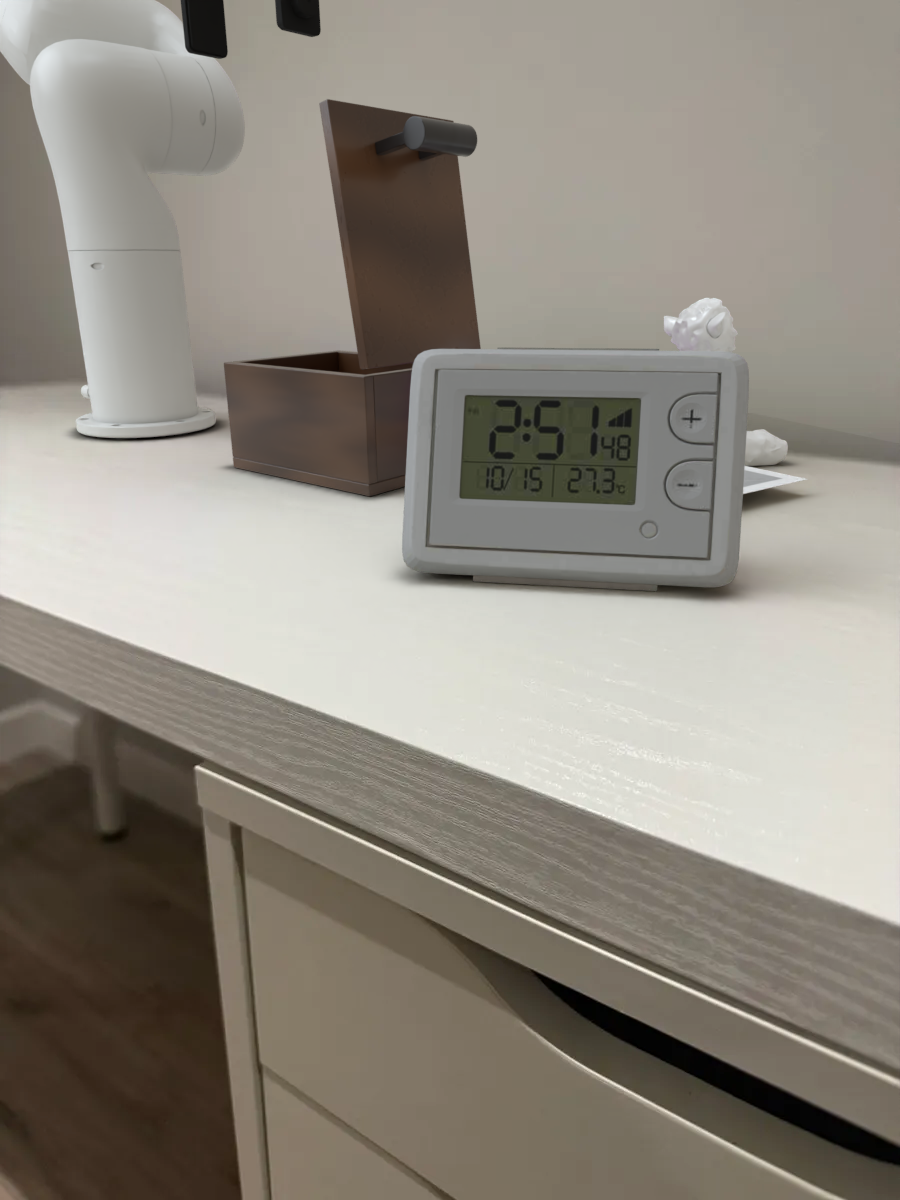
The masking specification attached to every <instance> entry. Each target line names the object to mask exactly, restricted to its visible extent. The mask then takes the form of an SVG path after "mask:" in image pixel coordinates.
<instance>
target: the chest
mask: <svg viewBox="0 0 900 1200" xmlns="http://www.w3.org/2000/svg"><path fill="white" fill-rule="evenodd" d="M412 367H413V363H409V364H402V365H394V366H386V367H379V368H371V369H364V370H361V369H360V365H359V358H358V352H357V351H353V350H352V351H351V350H339V349H337V350H329V351H320V352H310V353H309V352H308V353H300V354H292V355H291V354H290V355H281V356H273V357H272V356H271V357H261V358H253V359H245V360H243V359H242V360H234V361H224V362H223V371H224V380H225V381H224V382H225V392H226V402H227V412H228V413H227V414H228V422H229V423H228V424H229V433H230V445H231V453H232V463H233V464H232V465H233V468H236V469H240V470H245V471H250V472H254V473H260V474H264V475H267V476H268V475H269V476H273V477H276V478H277V477H278V478H281V479H282V478H283V479H286V480H291V481H297V482H301V483H306V484H310V485H314V486H315V485H316V486H320V487H324V488H328V489H334V490H339V491H342V492H348V493H352V494H358V495H360V496H361V495H362V496H367V497H372V496H375V495H380V494H383V493H386V492H391V491H394V490H397V489H401V488H405V477H406V458H407V439H408V420H409V401H410V386H411V374H412Z"/></svg>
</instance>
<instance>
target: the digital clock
mask: <svg viewBox="0 0 900 1200" xmlns="http://www.w3.org/2000/svg"><path fill="white" fill-rule="evenodd" d="M749 369H750V368H749V364H748V362H747V360H746V359H745V357H744V356H741V355H740V354H738V353H735V352H732V353H731V352H722V351H679V350H660V348H603V347H601V348H599V347H598V348H592V347H590V348H589V347H587V348H586V347H581V348H580V347H497V348H481V349H431V350H427V351H423V352H422V353H420V354H418V356H417V357H416V358H415V360H414V363H413V367H412V374H411V386H410V401H409V420H408V439H407V458H406V477H405V487H404V497H403V515H402V533H401V534H402V536H401V540H402V541H401V552H402V559H403V562H404V564H405V565H406V566H407V567H408V568H409V569H411V570H413V571H415V572H418V573H424V574H425V573H426V574H440V575H458V576H459V575H460V576H472V582H477V583H494V584H495V583H497V584H515V585H533V586H534V585H535V586H553V587H554V586H555V587H556V586H557V587H571V588H572V587H573V588H588V589H589V588H591V589H607V590H608V589H611V590H627V591H628V590H630V591H647V592H648V591H649V592H657V591H658V586H669V587H670V586H671V587H672V586H673V587H689V588H690V587H691V588H719V587H725V586H726V585H728V584H730V583H732V581H733V580H734V579H735V577H736V575H737V572H738V568H739V561H740V552H741V551H740V548H741V533H742V532H741V531H742V517H743V515H742V513H743V497H744V494H743V484H744V467H745V450H746V433H747V431H748V417H749V416H748V415H749V414H748V413H749V399H750V397H749V396H750V370H749Z"/></svg>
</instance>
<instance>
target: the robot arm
mask: <svg viewBox="0 0 900 1200" xmlns="http://www.w3.org/2000/svg"><path fill="white" fill-rule="evenodd" d="M274 4H275V19H276V20H275V21H276V26H277V28H279V29H280V31H284V32H288V33H293V34H297V35H301V36H304V37H309V38H314V37H319V36H320V35H321V32H322V31H321V30H322V29H321V11H320V9H321V8H320V0H274ZM180 8H181V9H180V10H181V19H182V20H181V19H180V18H179V16H177V15H176V13H174V12H173V11H172V10H171V9H170V8H168V7H167V6H166V5H165V4H162V3H161V2H159V1H157V0H0V53H1V55H2V56H3V57H4V59H5V60H6V61H7V63H8V64H9V66H10V67H11V68H12V69H13V70H14V72H16V74H17V75H18V76H19V77H20V78H21V79H22V80H23V81H24V82H25V83H26V84H27V85H28V86H29V91H30V98H31V104H32V109H33V113H34V117H35V121H36V125H37V127H38V130H39V134H40V136H41V139H42V142H43V145H44V148H45V152H46V155H47V158H48V161H49V165H50V168H51V172H52V175H53V176H52V177H53V180H54V184H55V188H56V193H57V198H58V202H59V208H60V214H61V219H62V226H63V231H64V238H65V239H64V240H65V246H66V250H67V255H68V263H69V268H70V269H69V270H70V275H71V282H72V288H73V289H72V290H73V296H74V303H75V310H76V315H77V321H78V328H79V335H80V342H81V347H82V354H83V361H84V362H83V363H84V368H85V375H86V380H87V382H86V383H87V384H84V385H82V387H81V388H80V394H81V396H82V397H83V399H88V400H89V402H90V407H91V412H89V413H85V414H82V415H80V416H78V417H77V418H76V419H75V426H76V431H77V432H78V433H79V434H80V435H81V434H82V435H84V436H89V437H94V438H95V437H97V438H106V439H137V438H140V439H141V438H154V437H155V438H156V437H166V436H174V435H175V436H176V435H182V434H188V433H193V432H198V431H203V430H206V429H208V428H211V427H212V426H215V424H216V423H217V419H216V412H215V411H214V410H213V409H211V408H207V407H203V406H198V397H197V387H196V379H195V369H194V362H193V351H192V343H191V334H190V324H189V315H188V314H189V313H188V305H187V297H186V287H185V277H184V268H183V261H182V252H181V243H180V236H179V229H178V227H177V223H176V220H175V218H174V215H173V213H172V210H171V209H170V207H169V205H168V203H167V202H166V200H165V198H164V196H163V195H162V194H161V192H160V191H159V189H158V188H157V186H155V184H154V182H153V180H152V179H151V178H150V174H151V175H152V174H159V175H174V176H190V177H191V176H192V177H195V176H196V177H206V176H215V175H218V174H220V173H223V172H225V171H227V170H228V169H229V168H230V167H232V166H233V165H234V164H235V162H236V161H237V159H238V158H239V156H240V154H241V152H242V149H243V147H244V142H245V136H246V135H245V133H246V131H245V130H246V124H245V116H244V111H243V106H242V103H241V99H240V97H239V94H238V91H237V89H236V87H235V85H234V83H233V81H232V79H231V77H230V76H229V75H228V73H227V72H226V70H225V69H224V67H222V65H221V64H220V62H219V61H217V59H218V60H222V59H226V58H227V56H228V52H229V50H228V39H227V25H226V14H225V1H224V0H180Z"/></svg>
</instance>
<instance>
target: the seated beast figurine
mask: <svg viewBox="0 0 900 1200" xmlns="http://www.w3.org/2000/svg"><path fill="white" fill-rule="evenodd" d="M734 321H735V320H734V317H733V316H732V315H731V311H730V310H729V309H728V307H727V306H725V305H723V300H722V299H720V298H716V297H712V298H711V297H704V298H701V299H699V300H696V301H695V302H694V303H691V304H690V305H689V306H688V307H686V308H684V309H683V310H681V311H680V312H679V314H678V316H672V315H664V316H663V331H664V333H665V334H666V335H667V336H669V337H671V339H670V343H672V344H673V345H675V346H676V349H677V350H678V351H722V352H731V353H734V351H735V350H737V346H736V339H737V338H736V337H737V336H738V335H739V333H738V330H737V329H736V328H735V327H734ZM788 449H789V445H788V442H787V440H784V439H782V438H780V437H778V436H776V435H774V434H772V433H771V432H769V431H768V430H767V429H765V428H760V429H753V430H747V433H746V450H745V466H748V467H756V466H775V465H778V464H779V463H781V462H783V461H784V460H785V459H786V457H787V456H788V455H787V454H788V453H789V451H788Z"/></svg>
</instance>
